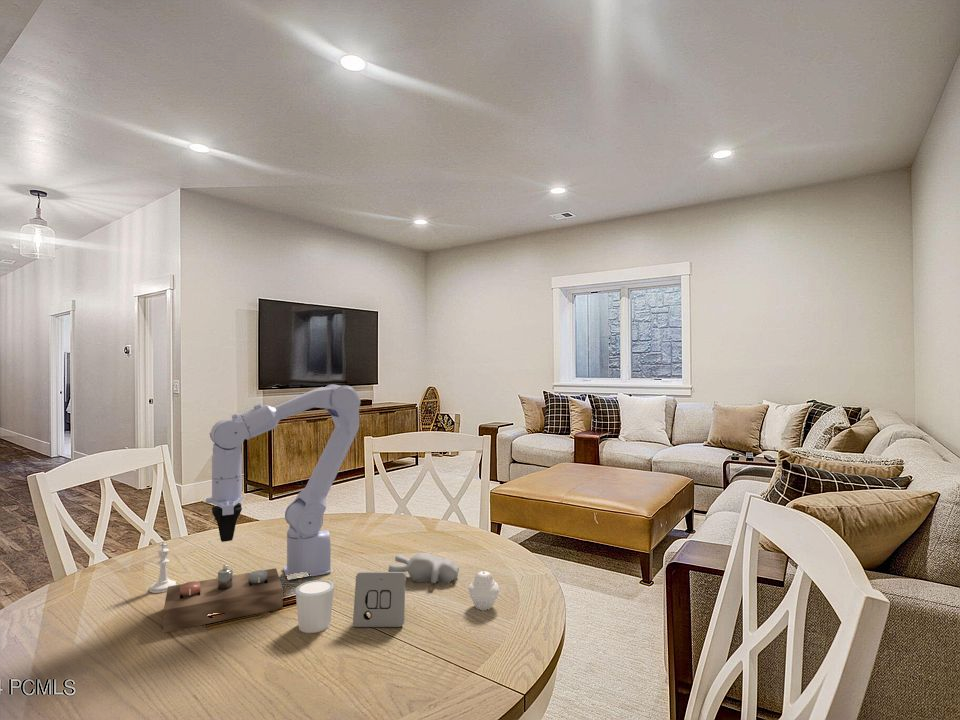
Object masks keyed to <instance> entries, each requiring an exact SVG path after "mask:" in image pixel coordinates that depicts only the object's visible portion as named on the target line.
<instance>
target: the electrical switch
mask: <svg viewBox="0 0 960 720" xmlns="http://www.w3.org/2000/svg"><path fill="white" fill-rule="evenodd" d="M406 582H407V574H406V573H405V572H389V571H359V572H358V573H356V575H355V588H354V603H353V619H352V624H353V627H354V628H355V627H356V628H370V627H371V628H401V627H402V626H404V625H405V614H406V613H405V612H406V611H405V610H406V607H405V603H406V601H405V600H406V599H405V598H406ZM367 613H369V614H370V617H369V616H368V614H367Z"/></svg>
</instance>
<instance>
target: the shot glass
mask: <svg viewBox="0 0 960 720" xmlns="http://www.w3.org/2000/svg"><path fill="white" fill-rule="evenodd" d="M334 589H335V583H334V582H332V581H330V580H328V579H327V580H326V579H315V580H309V581H305V582H303V583H301V584H298V586H296V587H295V592H294V593H295V600H296V609H297V610H296V613H297V623H298V624H297V625H298V629H299V631H300V632H302V633H306V634H309V633H310V634H313V633H319V632H322V631H325V630H326V629H328V628H329V627H330V626H331V621H332V612H333V601H334V594H335V593H334V592H335V590H334Z"/></svg>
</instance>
